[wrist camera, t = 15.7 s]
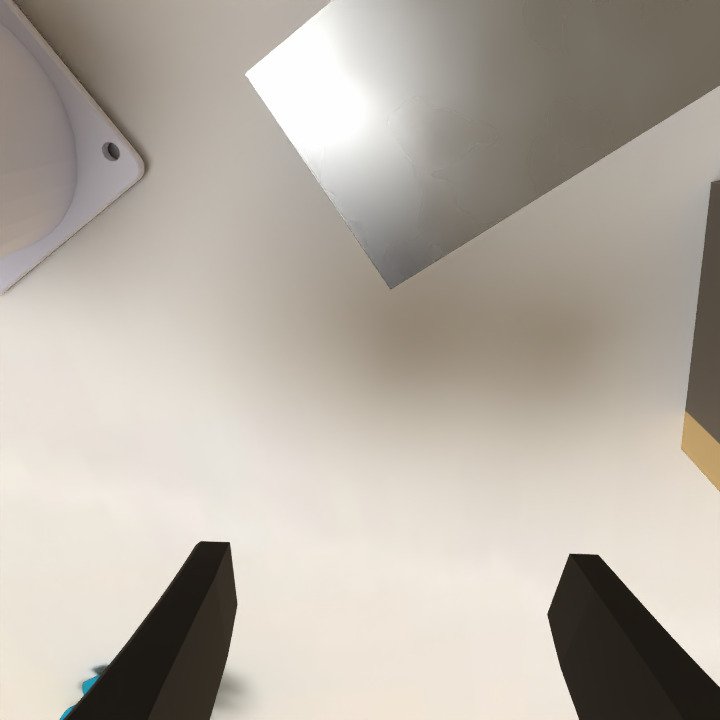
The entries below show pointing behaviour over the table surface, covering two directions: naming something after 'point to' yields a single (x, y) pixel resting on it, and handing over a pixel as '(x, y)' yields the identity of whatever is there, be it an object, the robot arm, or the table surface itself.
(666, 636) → the robot arm
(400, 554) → the table surface
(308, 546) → the table surface
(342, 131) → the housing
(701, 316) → the grey rectangular bar
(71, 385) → the table surface
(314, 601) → the table surface
